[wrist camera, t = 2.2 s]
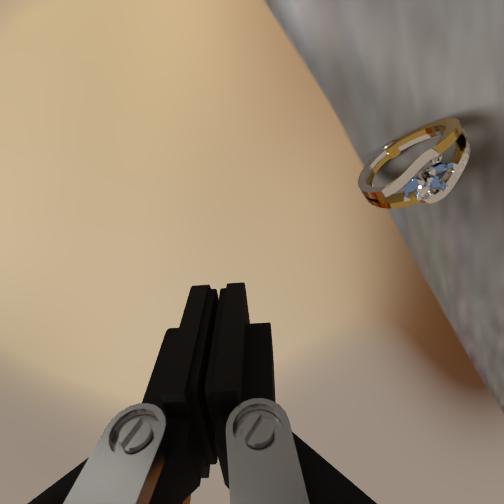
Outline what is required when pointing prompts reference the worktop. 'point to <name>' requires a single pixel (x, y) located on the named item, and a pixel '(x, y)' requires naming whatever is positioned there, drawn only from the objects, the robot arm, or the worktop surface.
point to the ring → (418, 167)
